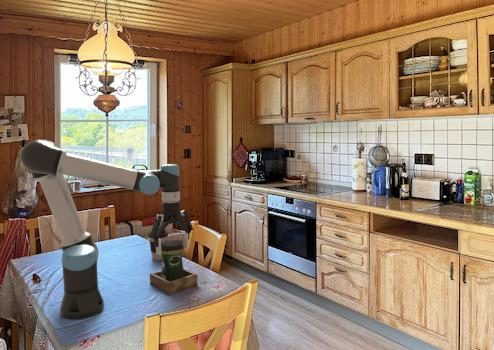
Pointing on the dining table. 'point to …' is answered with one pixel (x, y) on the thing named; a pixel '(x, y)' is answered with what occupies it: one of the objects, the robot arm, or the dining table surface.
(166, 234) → the coffee cup
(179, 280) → the walnut caddy
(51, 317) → the dining table surface
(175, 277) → the coffee jar
